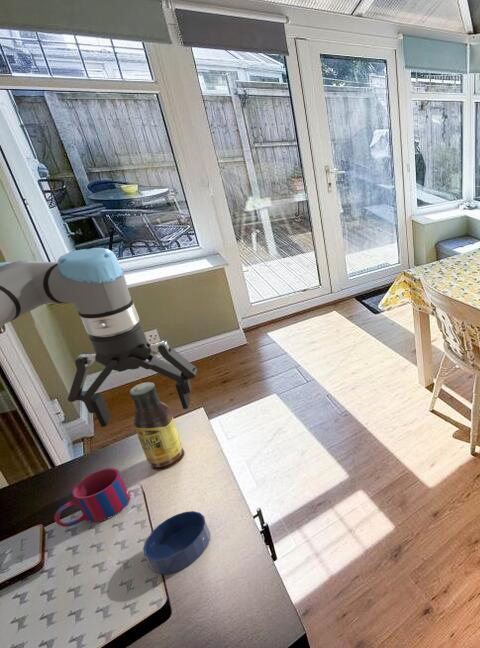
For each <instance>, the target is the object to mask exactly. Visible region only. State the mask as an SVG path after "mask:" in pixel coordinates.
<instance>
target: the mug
mask: <svg viewBox="0 0 480 648" xmlns="http://www.w3.org/2000/svg"><path fill="white" fill-rule="evenodd" d="M71 492H72V493H71V495H72V497H73V500H70V501H68V502H66V503H64V504H63V505H62V506H60V507H59V508H58V509H57V510H56V511H55V513H54V517H53V519H54V521H55V523H56V524H57V525H58V526H60V527H64V528H69V527H72V526H76V525H78V524H80V523H82V522H84V521H87V522H89V521H91V522H90V523H99V522H98V521H100V522H102V521H101V520H104V519H106V520H108V519H107V518H108V517H111V516H113V515H114V516H116V515H118V514H119V513H120V512H122V511H123V510H124V509H125V508H126V507H127V506H128V504H129V503H130V501H131V498H130V496H131V493H130V492H129V489H128V487H127V485H126V483H125V481H124V479H123V477H122V475H121V472H120V471H119V470H118V468H114V467H108V468H102V469H99V470H97V471H94V472H93V473H90V474H88V475H87V476H84V478H82V479H81V480H79V482H78V483H77V484H76V485H75V486H74V487H73V489H72V491H71ZM129 500H130V501H129ZM128 502H129V503H128ZM127 503H128V504H127ZM75 505H76V506H78V508H79V510H80V512H81V514H82V515H81V516H80V517H78V518H77V519H74V520H71V521H68V522H62V521H61V519H60V517H61V514H62V513H63V512H64V510H66V509H67V508H70V507H72V506H75ZM125 506H126V507H125ZM124 507H125V508H124ZM123 508H124V509H123ZM122 509H123V510H122ZM118 512H119V513H118ZM117 513H118V514H117ZM115 514H116V515H115ZM114 516H113V517H114ZM111 518H112V517H111ZM104 521H105V520H104Z"/></svg>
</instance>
